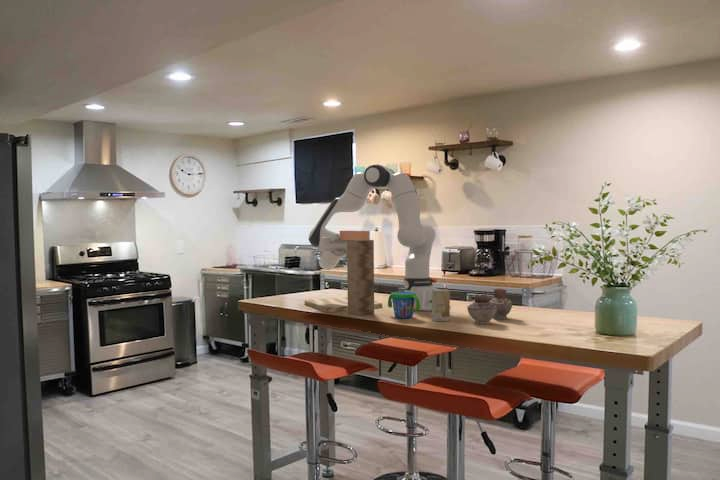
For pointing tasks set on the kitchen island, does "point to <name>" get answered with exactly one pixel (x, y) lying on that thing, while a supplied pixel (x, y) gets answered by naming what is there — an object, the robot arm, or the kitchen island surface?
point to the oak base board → (333, 304)
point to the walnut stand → (360, 277)
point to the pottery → (490, 307)
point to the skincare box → (440, 305)
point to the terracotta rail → (355, 235)
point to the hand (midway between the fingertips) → (346, 234)
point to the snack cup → (403, 303)
